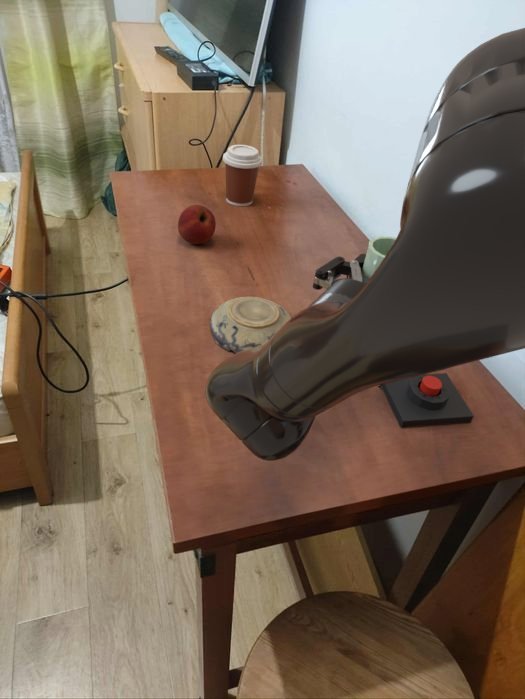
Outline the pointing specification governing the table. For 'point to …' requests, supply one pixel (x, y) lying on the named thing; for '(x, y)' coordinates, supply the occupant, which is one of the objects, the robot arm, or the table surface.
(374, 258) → the cup
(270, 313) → the decorative bowl
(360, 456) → the table surface
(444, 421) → the panel
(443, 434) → the table surface
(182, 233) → the apple
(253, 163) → the coffee cup
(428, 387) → the button
